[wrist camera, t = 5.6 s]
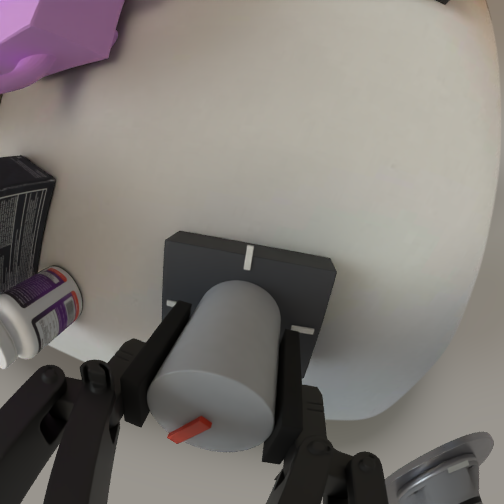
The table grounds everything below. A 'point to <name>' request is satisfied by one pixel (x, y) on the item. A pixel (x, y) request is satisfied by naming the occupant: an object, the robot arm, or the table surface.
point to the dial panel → (251, 280)
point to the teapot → (53, 37)
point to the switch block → (443, 1)
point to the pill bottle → (36, 313)
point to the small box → (21, 218)
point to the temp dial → (222, 372)
